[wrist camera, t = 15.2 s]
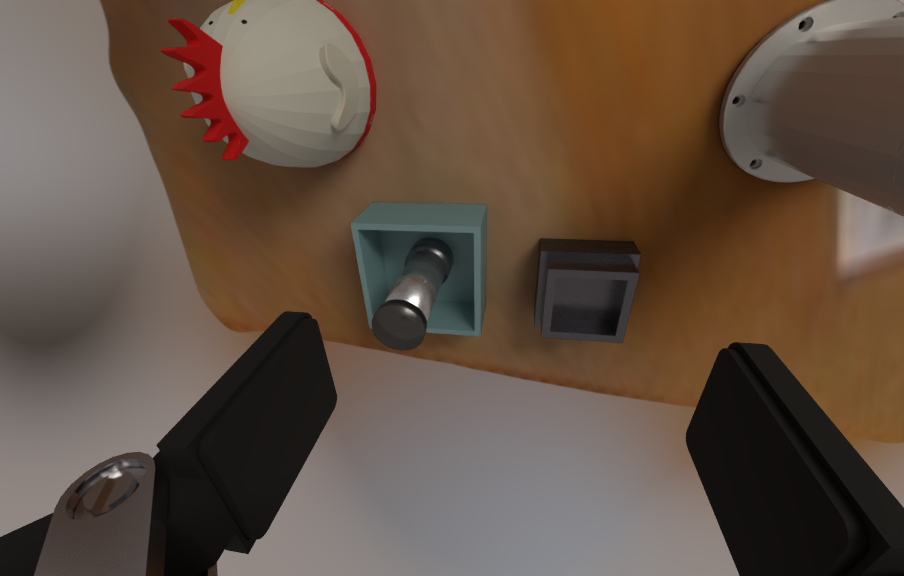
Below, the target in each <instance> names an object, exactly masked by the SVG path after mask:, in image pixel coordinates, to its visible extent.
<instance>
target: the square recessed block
mask: <svg viewBox="0 0 904 576" xmlns="http://www.w3.org/2000/svg"><path fill="white" fill-rule="evenodd" d="M640 258H641V254H640V252H639V250H638V248H637V247H636V245H635V243H634V241H603V240H572V239H541V238H540V247H539V259H538V270H537V282H536V294H535V305H534V327H541V337H545V338H559V339H573V340H587V341H600V342H614V343H623V340H624V335H625V331H626V327H627V323H628V319H629V315H630V311H631V306H632V302H633V298H634V294H635V290H636V286H637V282H638V277H639V271H638V266H639V262H640Z"/></svg>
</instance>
